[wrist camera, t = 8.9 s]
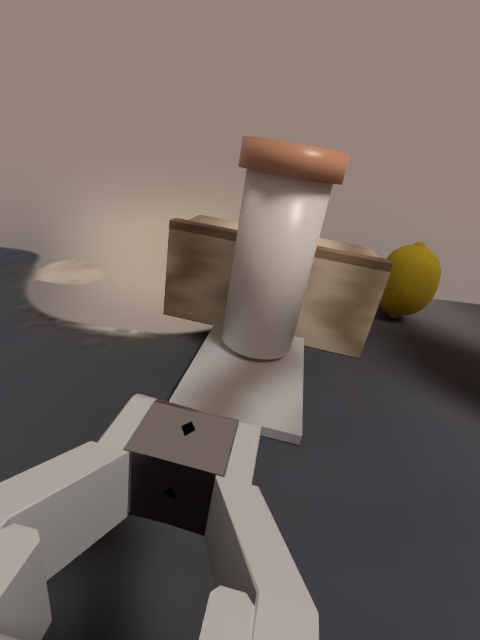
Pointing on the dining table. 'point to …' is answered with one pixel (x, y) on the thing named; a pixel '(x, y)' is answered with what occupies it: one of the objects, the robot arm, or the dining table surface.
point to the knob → (276, 241)
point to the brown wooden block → (312, 330)
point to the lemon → (411, 280)
